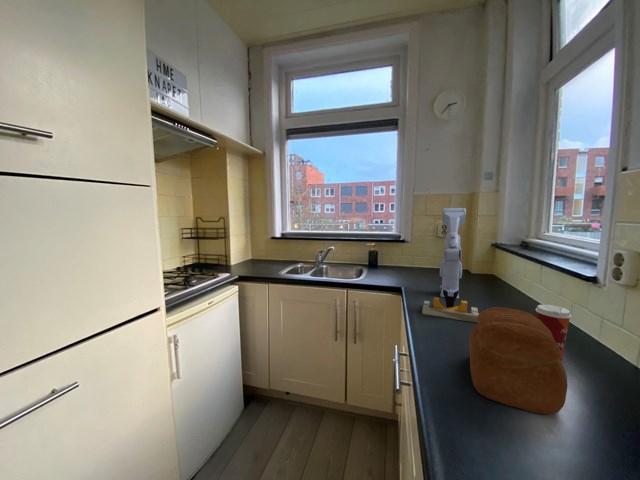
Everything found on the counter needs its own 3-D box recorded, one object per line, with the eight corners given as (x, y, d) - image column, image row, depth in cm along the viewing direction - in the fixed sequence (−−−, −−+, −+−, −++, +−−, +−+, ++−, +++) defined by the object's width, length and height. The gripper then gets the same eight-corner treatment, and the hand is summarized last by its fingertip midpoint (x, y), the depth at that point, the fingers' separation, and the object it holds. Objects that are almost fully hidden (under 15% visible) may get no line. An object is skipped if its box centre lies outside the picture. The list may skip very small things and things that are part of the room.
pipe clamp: (465, 315, 105) (466, 299, 104) (466, 319, 101) (467, 303, 100) (433, 310, 110) (434, 295, 109) (433, 314, 106) (433, 298, 105)
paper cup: (570, 365, 70) (575, 315, 68) (534, 357, 74) (538, 310, 72) (562, 352, 76) (567, 306, 75) (529, 345, 80) (533, 302, 79)
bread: (543, 369, 68) (549, 308, 66) (571, 428, 50) (580, 344, 48) (467, 352, 77) (471, 297, 75) (467, 396, 58) (471, 324, 57)
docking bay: (424, 306, 115) (424, 300, 114) (476, 313, 106) (476, 307, 106) (422, 313, 106) (422, 308, 106) (479, 322, 97) (479, 316, 97)
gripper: (441, 272, 115) (439, 301, 116) (440, 279, 102) (438, 312, 104) (459, 273, 112) (457, 303, 113) (460, 281, 99) (458, 315, 100)
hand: (449, 308), depth 108 cm, fingers closed
